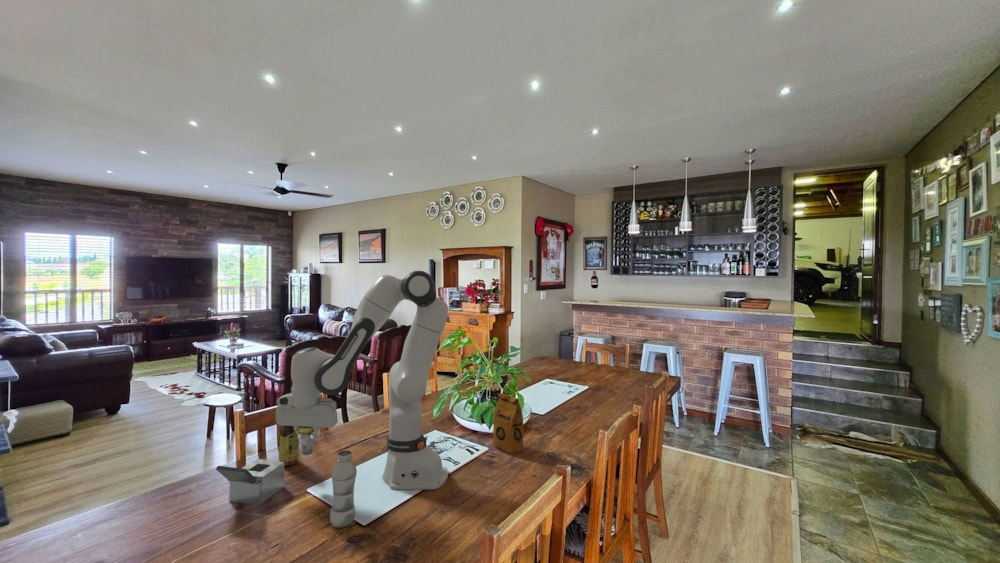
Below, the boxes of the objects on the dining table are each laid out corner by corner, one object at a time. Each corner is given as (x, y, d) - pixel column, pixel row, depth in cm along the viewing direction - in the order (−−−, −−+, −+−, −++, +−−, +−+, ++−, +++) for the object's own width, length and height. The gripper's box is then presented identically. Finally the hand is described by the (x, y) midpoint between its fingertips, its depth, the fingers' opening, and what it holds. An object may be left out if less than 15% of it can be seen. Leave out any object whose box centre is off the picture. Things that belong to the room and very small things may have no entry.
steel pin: (319, 449, 137) (319, 423, 136) (310, 456, 132) (309, 429, 131) (305, 449, 137) (304, 422, 137) (295, 456, 132) (294, 428, 132)
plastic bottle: (333, 517, 117) (335, 448, 116) (357, 517, 117) (359, 448, 117) (326, 531, 110) (328, 458, 110) (351, 531, 111) (353, 458, 110)
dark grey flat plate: (257, 485, 121) (259, 481, 121) (244, 472, 115) (246, 468, 116) (228, 481, 122) (231, 477, 123) (214, 469, 117) (217, 465, 118)
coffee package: (508, 457, 159) (510, 401, 159) (489, 446, 169) (491, 393, 168) (527, 451, 165) (529, 397, 165) (507, 440, 175) (509, 390, 174)
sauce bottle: (290, 468, 144) (291, 412, 144) (274, 465, 146) (276, 410, 145) (302, 459, 151) (304, 406, 151) (287, 457, 152) (289, 405, 152)
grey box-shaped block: (283, 486, 132) (284, 462, 132) (259, 505, 121) (259, 478, 121) (256, 483, 134) (256, 458, 133) (229, 501, 123) (229, 475, 123)
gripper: (341, 395, 136) (341, 436, 136) (285, 393, 138) (285, 433, 139) (330, 401, 129) (331, 444, 130) (272, 399, 132) (273, 441, 133)
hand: (307, 438), depth 134 cm, fingers closed on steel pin, 3 cm apart
